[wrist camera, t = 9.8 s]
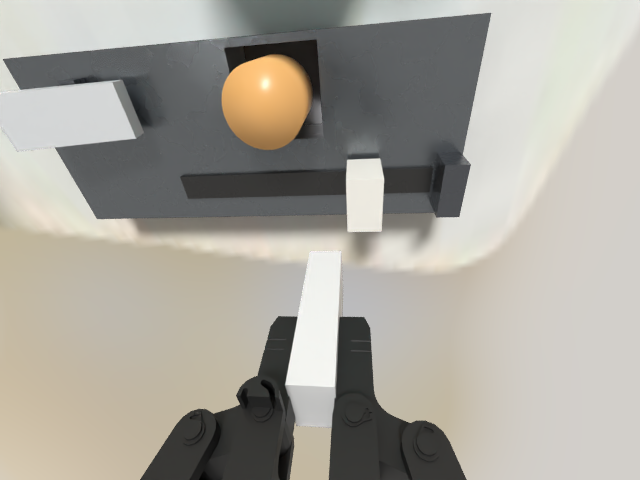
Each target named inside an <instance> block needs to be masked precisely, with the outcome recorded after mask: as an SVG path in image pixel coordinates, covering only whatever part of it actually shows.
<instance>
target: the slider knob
mask: <svg viewBox="0 0 640 480" xmlns="http://www.w3.org/2000/svg"><path fill="white" fill-rule="evenodd" d="M383 193H384V175H383V170H382V165H381V160H380V158H378V159H353V160H347V171H346V198H347V232H382V213H383Z"/></svg>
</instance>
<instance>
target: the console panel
mask: <svg viewBox="0 0 640 480" xmlns="http://www.w3.org/2000/svg"><path fill="white" fill-rule="evenodd" d="M490 17H491V13H485V14H474V15H464V16H453V17H442V18H432V19H421V20H411V21H400V22H390V23H379V24H368V25H358V26H347V27H337V28H326V29H316V30H305V31H294V32H284V33H273V34H263V35H252V36H242V37H231V38H220V39H210V40H199V41H189V42H178V43H168V44H157V45H146V46H136V47H125V48H115V49H104V50H94V51H83V52H72V53H62V54H51V55H41V56H30V57H19V58H9V59H3V61H4V62H5V64H6V66H7V68H8V69H9V71H10V73H11V74H12V76H13V78H14V79H15V81H16V83H17V84H18V86H19V88H20V89H21V90H24V89H34V88H44V87H54V86H64V85H74V84H84V83H94V82H104V81H114V80H123V82H124V85H125V87H126V90H127V92H128V95H129V97H130V100H131V102H132V105H133V107H134V109H135V112H136V114H137V117H138V119H139V122H140V124H141V127H142V129H143V132H144V133H143V134H142V135H140V136H139V137H138V138H136V139H128V140H118V141H109V142H100V143H91V144H82V145H73V146H64V147H55V149H56V150H57V152H58V154H59V155H60V157H61V159H62V160H63V162H64V164H65V165H66V167H67V169H68V171H69V172H70V174H71V176H72V177H73V179H74V181H75V182H76V184H77V186H78V187H79V189H80V191H81V192H82V194H83V196H84V198H85V199H86V201H87V203H88V204H89V206H90V208H91V209H92V211H93V213H94V214H95V216H96V218H97V219H123V218H176V217H228V216H280V215H333V214H347V198H346V171H347V160H353V159H378V158H380V160H381V165H382V170H383V175H384V193H383V213H382V214H385V213H435V215H436V217H459V215H460V211H461V206H462V202H463V197H464V193H465V188H466V184H467V179H468V175H469V170H470V166H471V164H470V163H469V162H468V161H467V160H466V158H465V157H464V156H463V150H464V145H465V140H466V135H467V130H468V125H469V121H470V116H471V111H472V106H473V101H474V96H475V91H476V86H477V81H478V76H479V71H480V66H481V61H482V56H483V51H484V46H485V41H486V36H487V31H488V27H489V22H490ZM315 39H317V49H318V63H319V78H320V92H321V107H322V121H323V124H309V125H302V126H301V128H300V130H299V132H298V134H297V135H296V137H295V138H294V139H293V140H292V141H291V142H290V143H288V144H287V145H285V146H283V147H281V148H278V149H274V150H263V149H258V148H254V147H252V146H250V145H248V144H246V143H245V142H243V141H242V140H241V139H240V138H238V137H237V136H236V135H235V133H234V132H233V131H232V130H231V128H230V127H229V125H228V123H227V121H226V119H225V116H224V113H223V109H222V90H223V86H224V83H225V81H226V79H227V77H228V76H229V74H230V73H231V72H232V71H233V70H234V69H235V68H236V67H238V66H239V65H241V64H243V63H246V59H245V53H244V48H243V46H249V45H260V44H271V43H282V42H293V41H304V40H315Z"/></svg>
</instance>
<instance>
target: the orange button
mask: <svg viewBox="0 0 640 480" xmlns="http://www.w3.org/2000/svg"><path fill="white" fill-rule="evenodd" d="M312 102H313V87H312V83H311V80H310V77H309V75H308V74H307V72H306V70H305V69H304V68H303V66H302V65H301V64H300V63H298V62H297V61H296V60H295V59H293V58H291V57H289V56H286V55H283V54H270V55H267V56H264V57H261V58H258V59H255V60H252V61H249V62H246V63H243V64H241V65H239V66H238V67H236V68H235V69H234V70H233V71H232V72H231V73H230V74H229V76H228V77H227V79H226V81H225V83H224V86H223V90H222V109H223V113H224V116H225V119H226V121H227V123H228V125H229V127H230V128H231V130H232V131H233V132H234V133H235V135H236V136H237V137H238V138H240V139H241V140H242V141H243V142H245V143H246V144H248V145H250V146H252V147H254V148H258V149H263V150H274V149H278V148H281V147H283V146H285V145H287V144H288V143H290V142H291V141H292V140H293V139H294V138H295V137H296V135H297V134H298V132H299V130H300V128H301V126H302V125H303V123H304V121H305V119H306V117H307V115H308V113H309V111H310V109H311V106H312Z"/></svg>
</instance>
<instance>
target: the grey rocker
mask: <svg viewBox="0 0 640 480" xmlns="http://www.w3.org/2000/svg"><path fill="white" fill-rule="evenodd" d="M0 127H1V128H2V130H3V131H4V133H5V134H6V136H7V137H8V139H9V140H10V142H11V143H12V145H13V146H14V148H15V149H16V151H17V152H18V151H27V150H36V149H45V148H55V147H64V146H73V145H82V144H91V143H100V142H109V141H118V140H128V139H136V138H138V137H139V136H140V135H142V134H143V133H144V132H143V129H142V127H141V124H140V122H139V119H138V117H137V114H136V112H135V109H134V107H133V105H132V102H131V100H130V97H129V95H128V92H127V90H126V87H125V85H124V82H123V80H114V81H104V82H94V83H84V84H74V85H64V86H54V87H44V88H34V89H24V90H14V91H4V92H0Z"/></svg>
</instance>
